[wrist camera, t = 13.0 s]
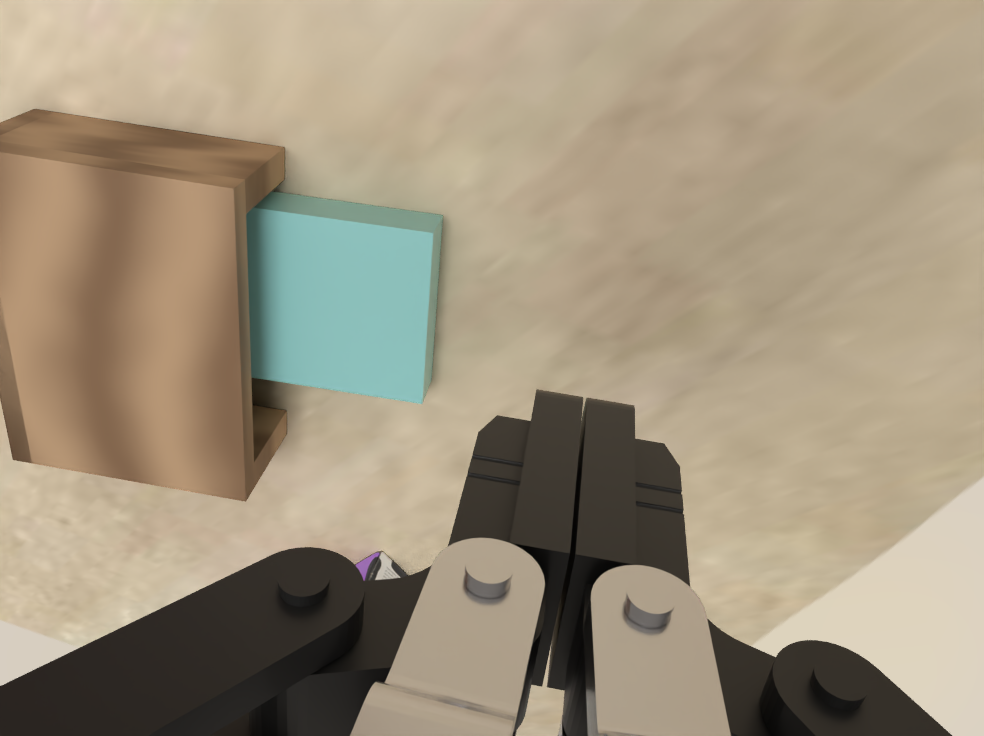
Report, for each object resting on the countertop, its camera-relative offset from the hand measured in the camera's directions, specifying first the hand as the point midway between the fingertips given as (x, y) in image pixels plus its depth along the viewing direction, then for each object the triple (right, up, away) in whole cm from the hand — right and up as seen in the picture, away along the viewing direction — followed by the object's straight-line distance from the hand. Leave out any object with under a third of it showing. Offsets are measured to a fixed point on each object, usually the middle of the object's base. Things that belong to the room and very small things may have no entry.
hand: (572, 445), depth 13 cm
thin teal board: (-12, +6, +31) cm, 33 cm away
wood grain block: (-17, +5, +31) cm, 36 cm away
